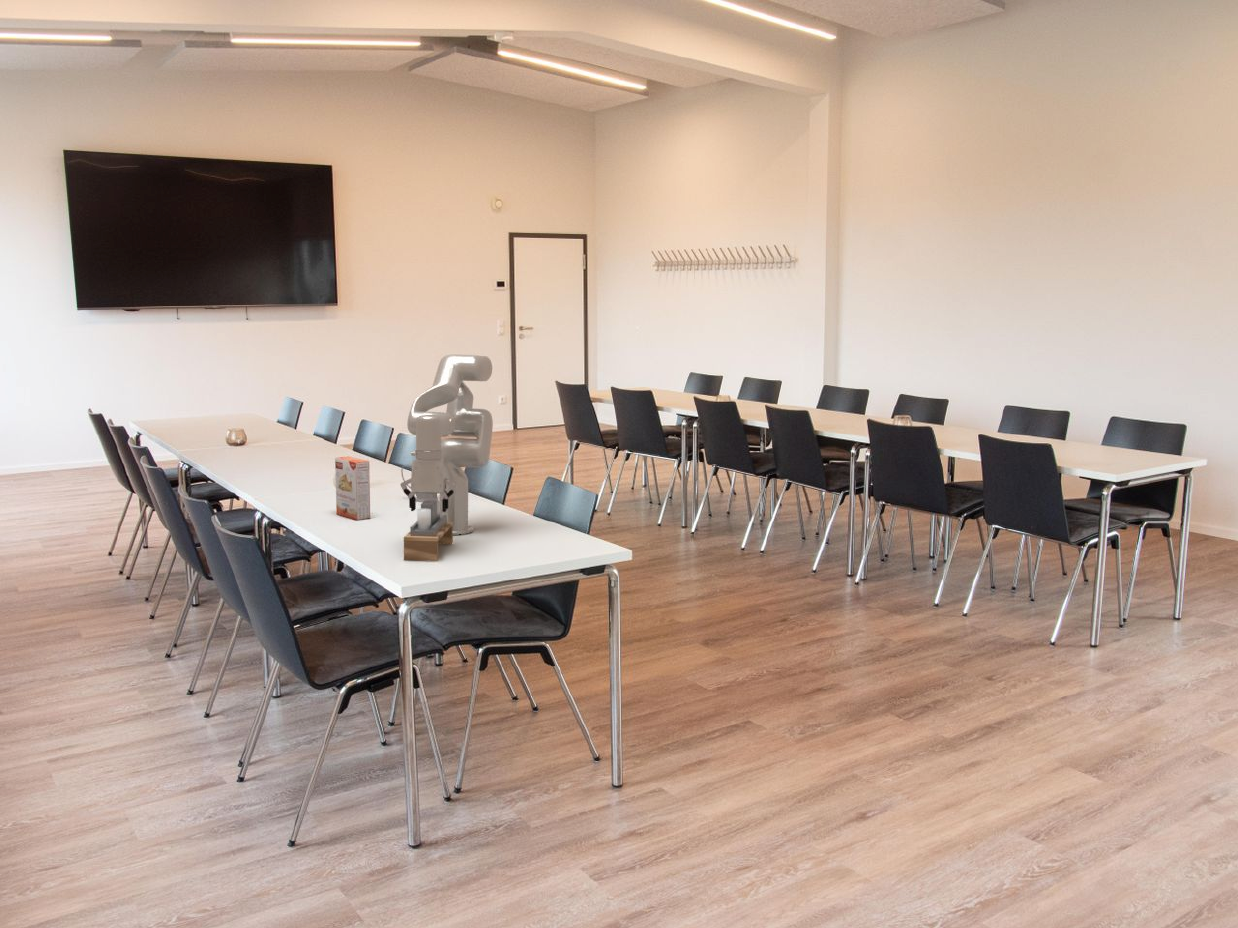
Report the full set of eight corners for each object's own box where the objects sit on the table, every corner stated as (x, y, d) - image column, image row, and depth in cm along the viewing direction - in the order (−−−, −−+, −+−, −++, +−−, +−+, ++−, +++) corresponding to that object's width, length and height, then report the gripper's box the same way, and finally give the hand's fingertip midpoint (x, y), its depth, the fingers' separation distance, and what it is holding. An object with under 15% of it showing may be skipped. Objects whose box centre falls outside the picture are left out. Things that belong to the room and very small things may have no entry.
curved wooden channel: (421, 542, 340) (421, 521, 339) (452, 543, 339) (452, 522, 338) (403, 560, 316) (403, 537, 315) (437, 561, 315) (437, 538, 314)
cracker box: (335, 514, 381) (334, 457, 378) (350, 512, 385) (349, 455, 382) (355, 521, 371) (354, 461, 368) (370, 518, 375) (370, 460, 372)
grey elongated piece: (424, 522, 337) (424, 496, 335) (446, 523, 336) (446, 496, 335) (410, 535, 317) (410, 507, 316) (433, 536, 317) (433, 508, 315)
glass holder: (435, 502, 409) (435, 464, 407) (399, 501, 409) (398, 463, 407) (440, 498, 417) (440, 460, 415) (404, 497, 418) (403, 459, 416)
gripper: (397, 456, 320) (398, 512, 322) (454, 458, 319) (454, 513, 322) (403, 453, 327) (403, 507, 330) (459, 454, 327) (459, 509, 329)
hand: (428, 510), depth 326 cm, fingers open, 9 cm apart
